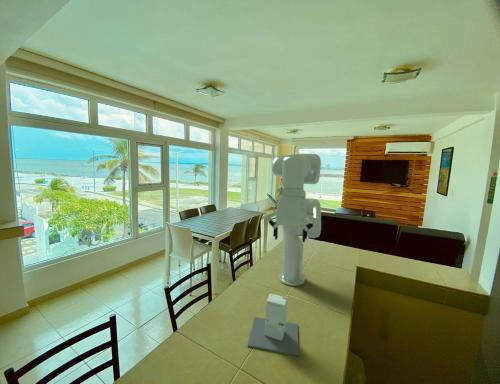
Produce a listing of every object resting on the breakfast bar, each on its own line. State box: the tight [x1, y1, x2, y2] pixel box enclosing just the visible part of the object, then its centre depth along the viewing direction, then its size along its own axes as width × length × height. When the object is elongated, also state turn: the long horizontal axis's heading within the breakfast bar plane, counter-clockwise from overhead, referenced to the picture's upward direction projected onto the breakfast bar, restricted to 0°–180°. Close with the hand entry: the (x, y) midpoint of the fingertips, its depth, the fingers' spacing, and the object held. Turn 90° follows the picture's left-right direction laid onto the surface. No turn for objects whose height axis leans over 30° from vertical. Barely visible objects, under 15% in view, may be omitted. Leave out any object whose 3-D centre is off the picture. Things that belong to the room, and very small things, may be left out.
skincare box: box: [265, 293, 288, 341], centre depth 67 cm, size 6×4×12 cm
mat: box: [247, 316, 300, 357], centre depth 68 cm, size 12×15×1 cm
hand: (289, 239), depth 75 cm, fingers open, 9 cm apart
